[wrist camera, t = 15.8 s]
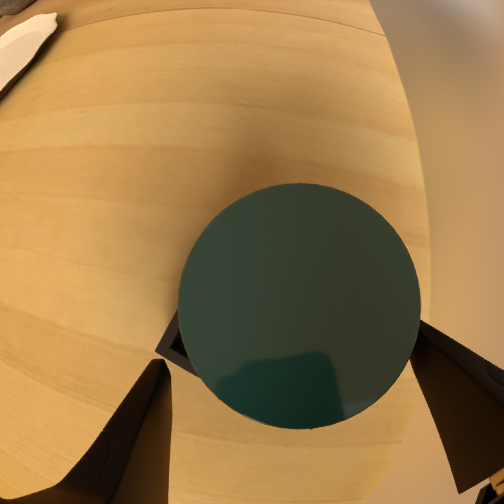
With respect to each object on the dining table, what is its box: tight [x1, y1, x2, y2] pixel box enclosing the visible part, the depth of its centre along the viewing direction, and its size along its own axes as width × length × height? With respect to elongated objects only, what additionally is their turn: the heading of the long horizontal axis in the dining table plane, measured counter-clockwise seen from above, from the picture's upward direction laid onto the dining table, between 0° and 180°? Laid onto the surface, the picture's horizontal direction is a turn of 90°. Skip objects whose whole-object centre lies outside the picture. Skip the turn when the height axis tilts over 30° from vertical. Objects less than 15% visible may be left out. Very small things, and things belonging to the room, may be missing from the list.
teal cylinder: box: [178, 183, 421, 429], centre depth 11 cm, size 6×6×10 cm
